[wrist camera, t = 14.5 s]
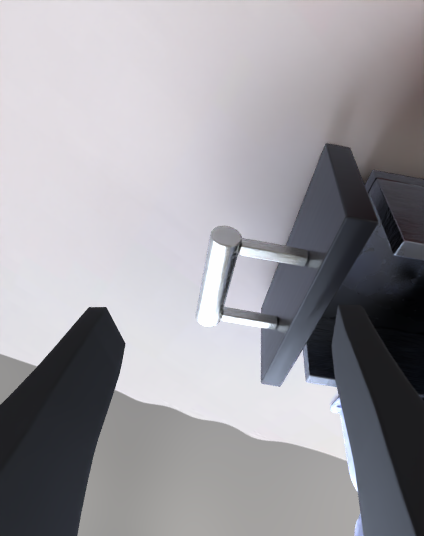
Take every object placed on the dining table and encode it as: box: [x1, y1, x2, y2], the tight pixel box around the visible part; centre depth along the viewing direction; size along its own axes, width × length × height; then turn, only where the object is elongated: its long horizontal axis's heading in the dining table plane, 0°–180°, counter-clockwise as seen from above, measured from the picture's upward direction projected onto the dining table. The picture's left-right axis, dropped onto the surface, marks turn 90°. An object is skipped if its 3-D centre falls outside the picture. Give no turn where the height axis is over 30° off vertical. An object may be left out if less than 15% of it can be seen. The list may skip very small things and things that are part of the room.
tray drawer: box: [196, 143, 424, 401], centre depth 19 cm, size 17×12×6 cm
